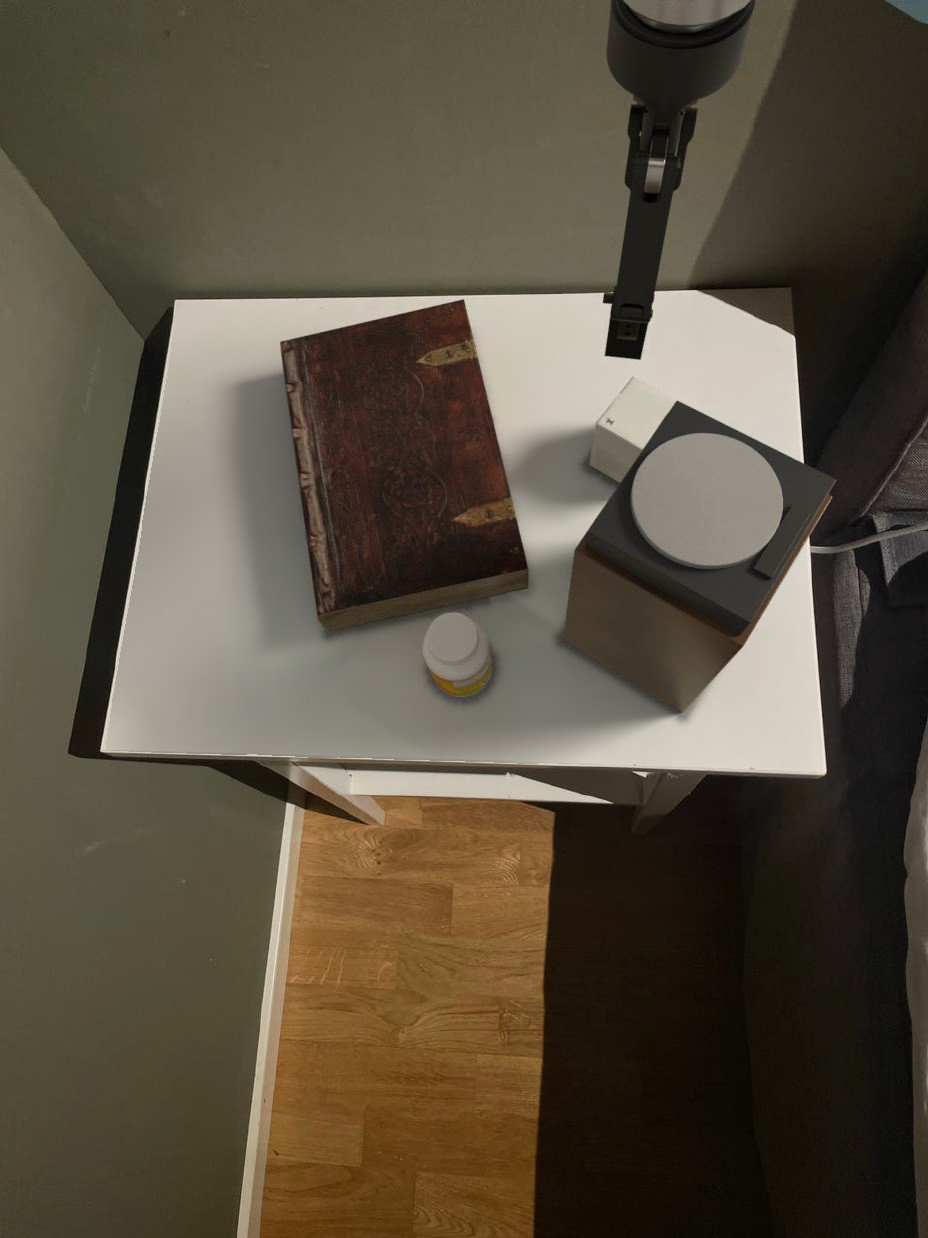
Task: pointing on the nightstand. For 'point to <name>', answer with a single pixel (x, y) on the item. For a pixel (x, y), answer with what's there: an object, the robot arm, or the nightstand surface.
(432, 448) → the hardback book
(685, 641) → the riser
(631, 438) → the product box
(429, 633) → the supplement bottle
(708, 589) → the scale
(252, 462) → the nightstand surface
